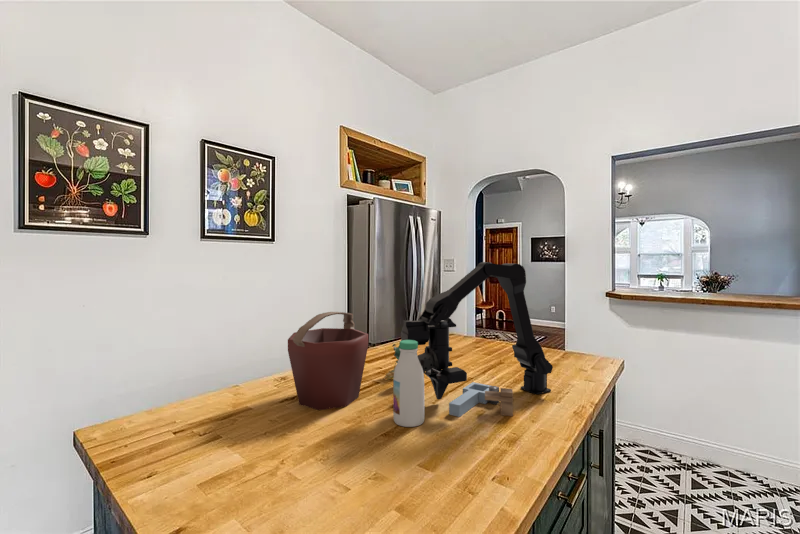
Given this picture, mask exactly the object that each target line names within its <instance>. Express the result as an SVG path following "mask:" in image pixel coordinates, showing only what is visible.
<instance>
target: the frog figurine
mask: <svg viewBox="0 0 800 534" xmlns="http://www.w3.org/2000/svg"><path fill="white" fill-rule="evenodd" d="M400 341H402V339H400ZM396 345H397V344H396V343H394V344H392V347H393V350H394V353H393V356H394V357H395V358H396V361H395V364H394V367H393V368H391V369H388V371H387V372H386V374H385V375H386V376H384V377H383V378H382V380H385V381H389V380H391V381H394V371H395V367H396V365H397V363H398V360H399V357H400V350H399V349H400V347H399V345H398V346H397V347H396Z"/></svg>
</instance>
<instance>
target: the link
mask: <svg viewBox="0 0 800 534" xmlns="http://www.w3.org/2000/svg"><path fill="white" fill-rule="evenodd" d="M489 386H491V385H490V384H489V385H488V384H484V383H480V382H474V381H472V382H471V383H468V384H467V385H466V386H464V387H463V388H462V394H460V395H459V396H458V397H456V398H454V399H453V400H451V401H449V403H448V415H450V416H455V417H459V418H460V417H462V416H464V414H466V413H467V412H468V411H470V410H471V409H473V408H474V407H476V405H478V404H483V405H487V404H488V403H489V400H485V391H489Z"/></svg>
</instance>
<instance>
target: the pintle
mask: <svg viewBox="0 0 800 534" xmlns="http://www.w3.org/2000/svg"><path fill="white" fill-rule="evenodd" d="M489 391H494V392H500V387H499V386H496V385H490V386H489ZM488 403H489V404H492V405H498V404H500V401H493V400H489V402H488Z"/></svg>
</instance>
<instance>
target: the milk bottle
mask: <svg viewBox="0 0 800 534" xmlns="http://www.w3.org/2000/svg"><path fill="white" fill-rule="evenodd" d="M398 346H399V347H400V349H399V350H400V357H399V360H398V359H397V361H398V363H396V365H395V366H394V367H395V371H394V380H392V381H393V383H392V384H393V386H392V388H393V390H392V392H393V398H392V399H393V400H392V402H393V407H392V408H393V412H392V413H393V421H394V423H395V424H396V425H398V426H400V427H403V428H404V427H405V428H414V427H418V426H421V425H422V424H423V423H424V422H425V374H424V373H423V369H422V366H421V364H420V362H419V359H418V350H419V349H418V348H419V345H418V342H417V341H415V340H402V341H401V340H400V341H399V344H398Z"/></svg>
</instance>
